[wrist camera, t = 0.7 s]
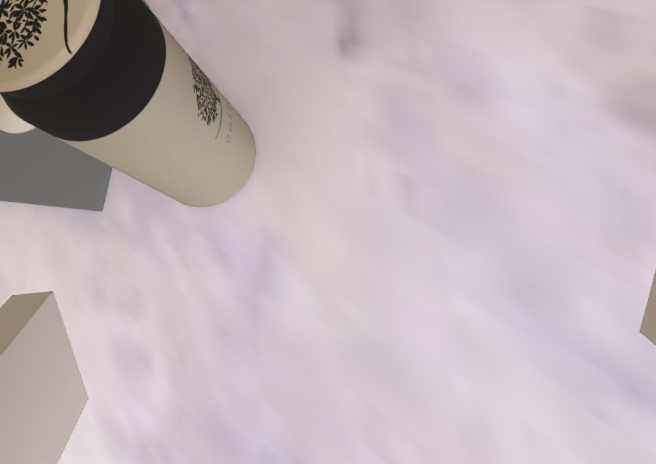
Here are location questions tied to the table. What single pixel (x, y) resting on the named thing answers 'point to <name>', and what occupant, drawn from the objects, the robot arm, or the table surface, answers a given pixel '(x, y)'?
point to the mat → (47, 168)
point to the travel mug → (123, 95)
